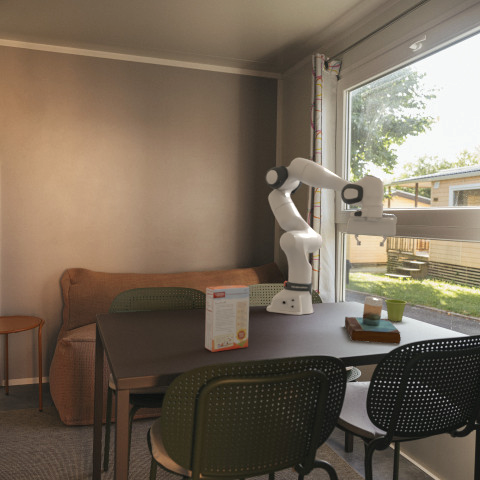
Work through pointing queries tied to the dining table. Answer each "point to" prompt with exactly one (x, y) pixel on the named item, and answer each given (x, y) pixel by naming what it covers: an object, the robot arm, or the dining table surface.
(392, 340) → the book
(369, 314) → the glass jar
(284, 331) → the dining table surface
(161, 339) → the dining table surface
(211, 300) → the cracker box
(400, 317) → the plant pot
